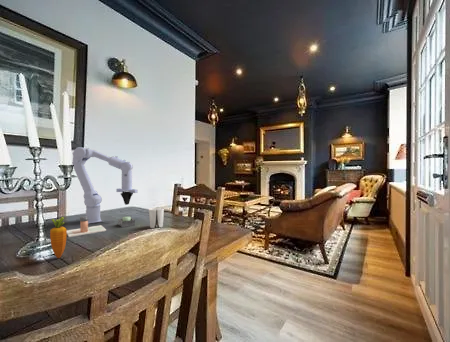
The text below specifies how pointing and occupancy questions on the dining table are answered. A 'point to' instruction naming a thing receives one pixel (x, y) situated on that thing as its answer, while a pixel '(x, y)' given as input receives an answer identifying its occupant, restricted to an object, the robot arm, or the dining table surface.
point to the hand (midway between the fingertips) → (126, 204)
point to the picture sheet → (90, 230)
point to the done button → (126, 218)
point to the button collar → (126, 223)
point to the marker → (84, 224)
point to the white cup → (153, 216)
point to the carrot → (58, 237)
